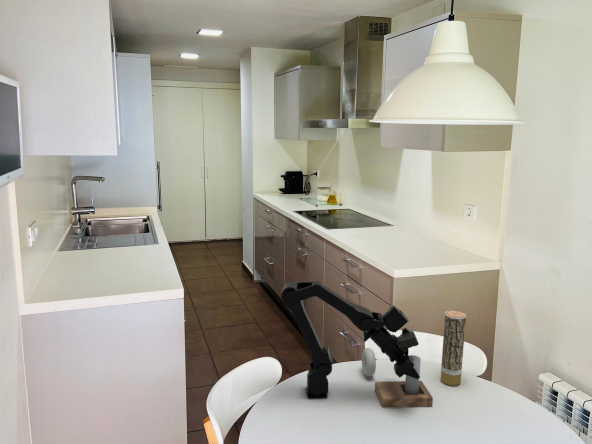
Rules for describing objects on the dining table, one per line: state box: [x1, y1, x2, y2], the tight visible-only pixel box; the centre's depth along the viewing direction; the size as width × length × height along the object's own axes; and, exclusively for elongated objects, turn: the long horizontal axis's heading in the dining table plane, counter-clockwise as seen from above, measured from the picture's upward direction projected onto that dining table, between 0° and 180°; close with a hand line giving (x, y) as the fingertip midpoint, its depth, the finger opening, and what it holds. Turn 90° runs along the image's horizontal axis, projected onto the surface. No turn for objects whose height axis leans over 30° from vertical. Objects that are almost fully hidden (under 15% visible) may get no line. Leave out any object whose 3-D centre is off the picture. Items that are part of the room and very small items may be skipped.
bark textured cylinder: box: [440, 310, 467, 387], centre depth 171 cm, size 7×7×25 cm
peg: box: [404, 354, 421, 395], centre depth 161 cm, size 4×4×14 cm
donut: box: [361, 347, 377, 377], centre depth 176 cm, size 10×4×10 cm, turn 6°
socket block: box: [374, 380, 434, 409], centre depth 161 cm, size 16×11×3 cm
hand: (417, 373), depth 160 cm, fingers open, 5 cm apart
